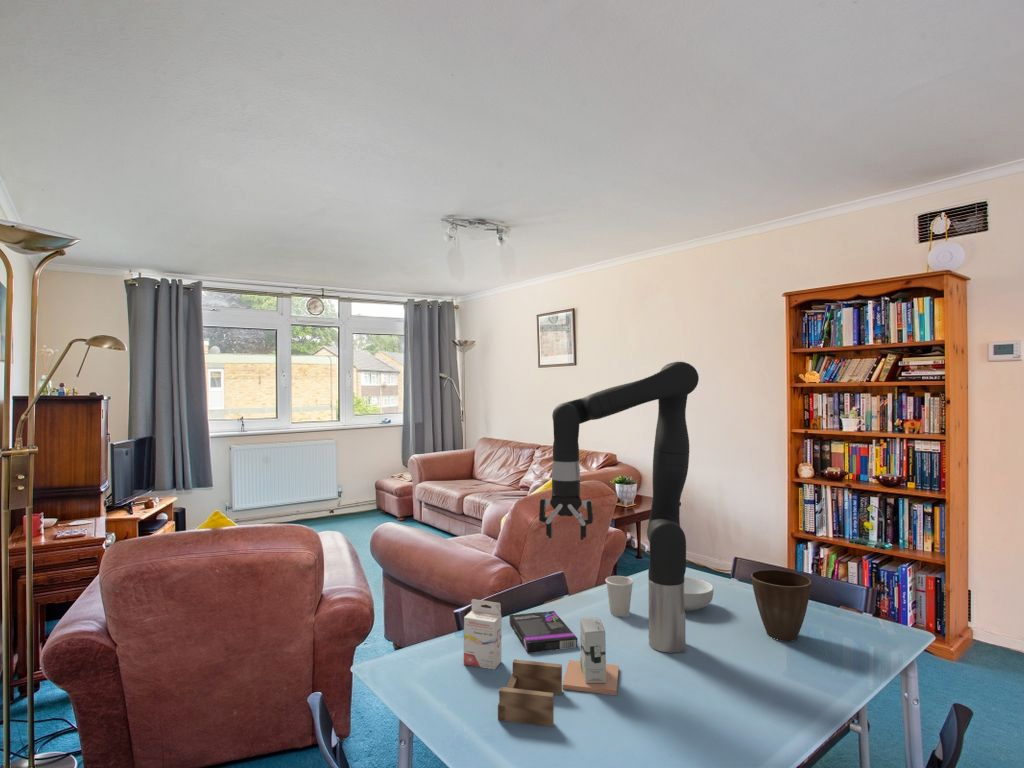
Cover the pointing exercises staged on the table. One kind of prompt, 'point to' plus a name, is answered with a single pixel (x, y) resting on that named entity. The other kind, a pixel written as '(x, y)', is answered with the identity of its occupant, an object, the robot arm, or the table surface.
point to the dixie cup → (619, 595)
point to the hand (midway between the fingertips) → (566, 538)
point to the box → (542, 631)
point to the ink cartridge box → (483, 635)
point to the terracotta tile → (577, 682)
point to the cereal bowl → (696, 593)
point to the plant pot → (781, 601)
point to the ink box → (593, 650)
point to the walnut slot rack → (530, 693)
